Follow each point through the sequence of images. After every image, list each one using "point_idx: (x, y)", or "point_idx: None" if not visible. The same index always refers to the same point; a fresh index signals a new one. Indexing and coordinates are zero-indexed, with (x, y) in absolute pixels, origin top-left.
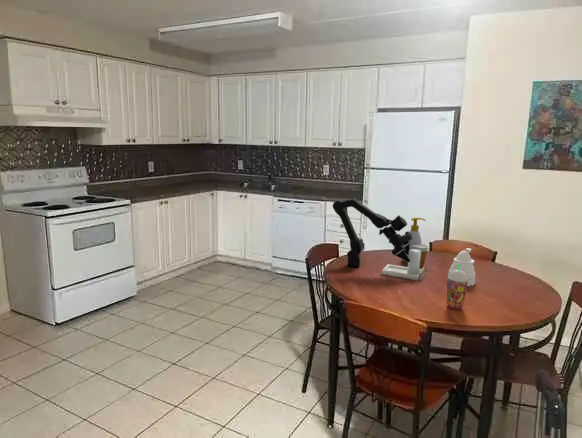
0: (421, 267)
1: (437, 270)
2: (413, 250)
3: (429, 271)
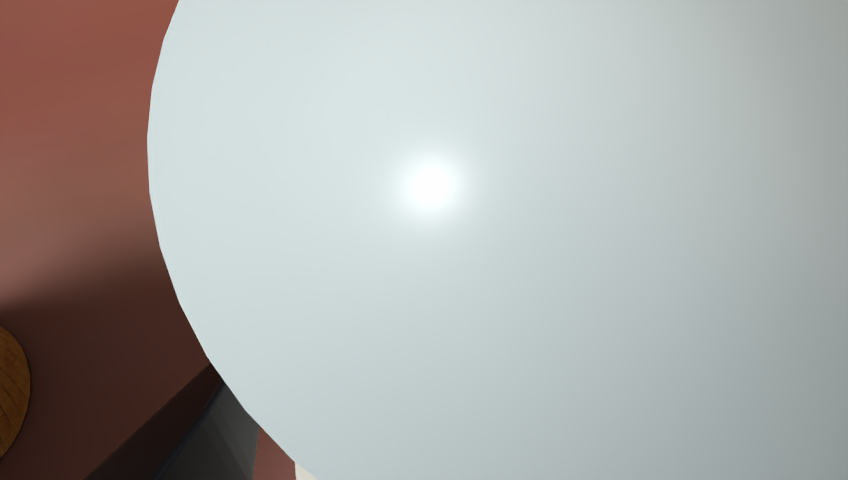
0: (3, 330)
1: (31, 123)
2: (627, 182)
3: (127, 188)
